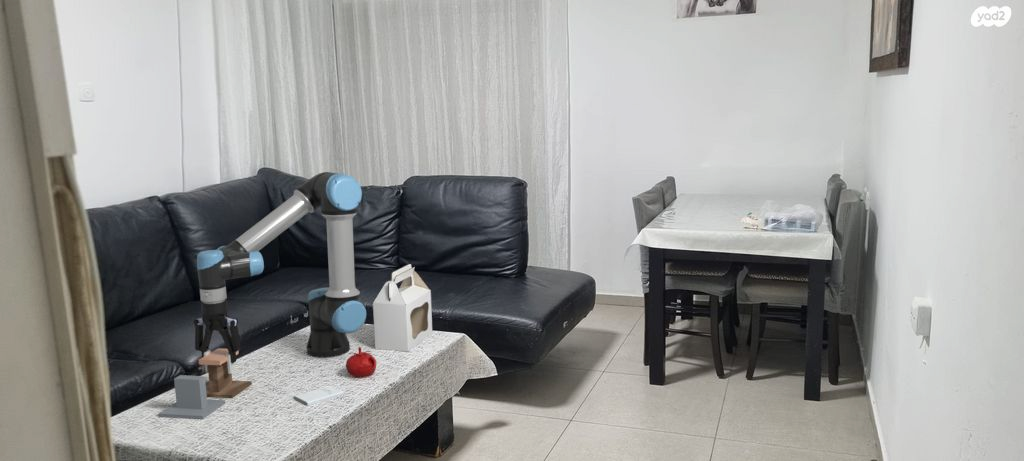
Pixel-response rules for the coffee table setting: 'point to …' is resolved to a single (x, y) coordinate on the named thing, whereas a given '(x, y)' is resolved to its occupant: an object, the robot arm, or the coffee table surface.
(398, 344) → the gable box
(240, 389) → the walnut stand
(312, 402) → the external hard drive
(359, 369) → the pomegranate
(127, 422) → the coffee table surface
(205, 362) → the terracotta tile
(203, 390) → the slate stand
